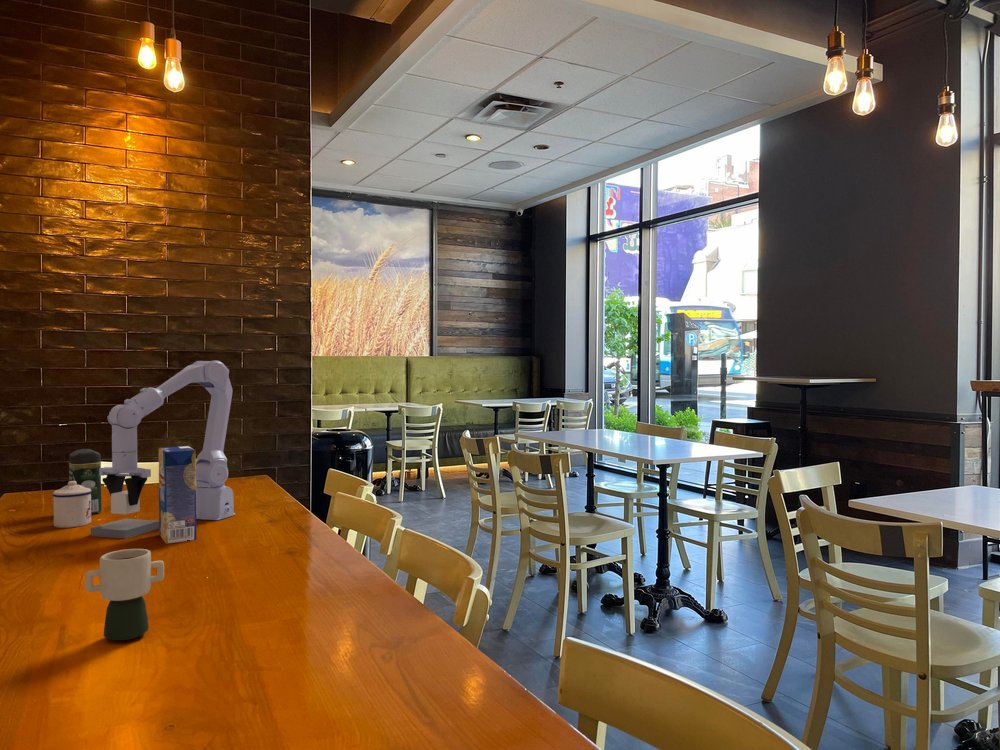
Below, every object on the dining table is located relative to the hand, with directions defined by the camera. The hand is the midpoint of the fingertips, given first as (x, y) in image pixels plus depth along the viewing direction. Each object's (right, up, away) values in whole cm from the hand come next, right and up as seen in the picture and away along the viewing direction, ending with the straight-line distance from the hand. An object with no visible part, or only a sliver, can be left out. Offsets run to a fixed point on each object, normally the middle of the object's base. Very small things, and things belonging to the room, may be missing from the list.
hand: (125, 504), depth 180 cm
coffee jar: (-24, -7, +24) cm, 35 cm away
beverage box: (+16, -7, -6) cm, 19 cm away
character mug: (+38, -8, -70) cm, 80 cm away
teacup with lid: (-20, -7, +10) cm, 24 cm away
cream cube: (0, -2, 0) cm, 2 cm away
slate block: (0, -8, 0) cm, 8 cm away
